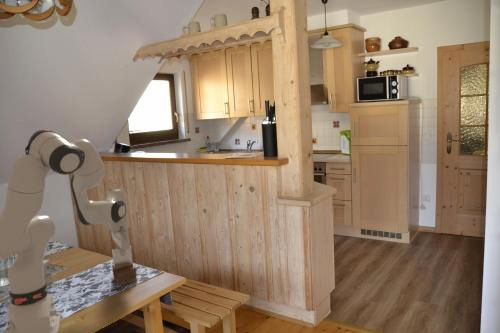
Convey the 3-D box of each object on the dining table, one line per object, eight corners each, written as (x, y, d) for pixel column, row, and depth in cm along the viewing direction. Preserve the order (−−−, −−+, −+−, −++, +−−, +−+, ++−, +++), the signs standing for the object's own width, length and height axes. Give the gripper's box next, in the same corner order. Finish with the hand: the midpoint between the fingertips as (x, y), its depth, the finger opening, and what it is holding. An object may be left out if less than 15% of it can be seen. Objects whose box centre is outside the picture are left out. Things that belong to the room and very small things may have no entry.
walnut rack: (136, 280, 183) (135, 266, 182) (118, 285, 179) (117, 271, 178) (131, 273, 191) (129, 260, 190) (113, 278, 187) (112, 264, 186)
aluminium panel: (132, 265, 187) (131, 246, 185) (114, 269, 183) (112, 250, 181) (131, 264, 188) (129, 245, 187) (113, 268, 184) (111, 249, 183)
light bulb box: (40, 281, 187) (36, 259, 185) (52, 282, 186) (49, 259, 184) (22, 292, 177) (19, 268, 175) (36, 293, 175) (32, 269, 174)
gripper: (132, 228, 175) (135, 259, 177) (121, 217, 192) (124, 246, 195) (117, 231, 172) (120, 262, 174) (107, 220, 189) (110, 249, 192)
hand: (122, 253), depth 184 cm, fingers closed on aluminium panel, 2 cm apart
